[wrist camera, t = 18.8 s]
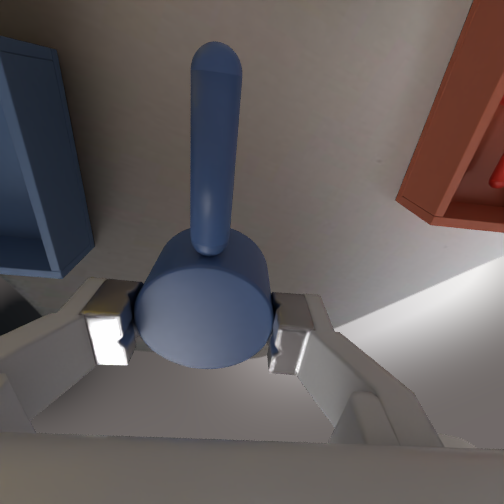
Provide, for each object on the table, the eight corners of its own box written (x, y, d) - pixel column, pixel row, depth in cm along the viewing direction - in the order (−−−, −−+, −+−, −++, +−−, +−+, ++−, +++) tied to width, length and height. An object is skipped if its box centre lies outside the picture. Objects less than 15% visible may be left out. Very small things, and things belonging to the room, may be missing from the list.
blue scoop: (260, 317, 11) (264, 373, 9) (161, 311, 11) (139, 367, 9) (303, 67, 7) (330, 52, 5) (143, 44, 7) (91, 18, 4)
